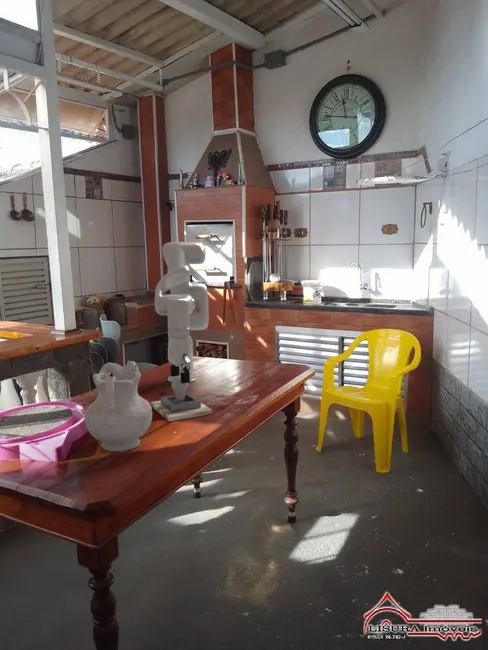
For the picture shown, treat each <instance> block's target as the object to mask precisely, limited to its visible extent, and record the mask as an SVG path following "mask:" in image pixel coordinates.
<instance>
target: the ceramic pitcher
mask: <svg viewBox="0 0 488 650" xmlns="http://www.w3.org/2000/svg"><path fill="white" fill-rule="evenodd" d="M126 362H127V363H126V364H125V365H124V366H122V365H120V364H118V363H113V362H107V363H105V364H104V365H102V366H101V368H100V370H99V372H98V373H93V374H92V380H93V383H94V385H95V386H96V390H97V397H96V399H95V400H94V401H93V402H92V403H91V404H90V405H89V406H88V407H87V409H86V410H85V413H84V422H85V425H86V429H87V430H88V432H89V434H90V435H91V436H92V437H93V438H94V439H95V440H98V441H100V442H101V443H100V444H99V447H100V448H102V449H103V450H105V451H108V452H110V453H111V452H127V451H129V450H132V449H136V448H138V447H140V445H141V440H140V437H142V436H144V435H145V434H146V432H147V431H148V430H149V428H150V426H151V424H152V420H153V407H151V403H150V402H149V401H148V400H147V399H145V398H143V397H142V396H140V394H139V393H138V392H139V391H138V385H139V382H140V379H141V378H142V377H141V376H142V374H141V372H140V371H139V367H138V366H139V364H138V363H136V362H135V361H134V360H130V359H129V360H127V361H126Z"/></svg>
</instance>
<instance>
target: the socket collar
mask: <svg viewBox="0 0 488 650" xmlns="http://www.w3.org/2000/svg"><path fill="white" fill-rule="evenodd" d="M160 401H161V405H163V406H164V407H165V408H166V409H168V410H169V411H170V412H172V413H173V412H179V411H185V410H191V409H196V408H201V403H202V401H201V400H200V399H198V398H197V397H195V396H194V395H192V394H191V393H188V392H186V393H185V398H184V402H183V403H177V399H176V395H168V396H161V397H160ZM185 401H187V402H185ZM174 403H177V404H174Z"/></svg>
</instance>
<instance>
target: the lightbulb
mask: <svg viewBox="0 0 488 650" xmlns="http://www.w3.org/2000/svg"><path fill="white" fill-rule="evenodd" d="M170 384H171V385H170V386H171V389H172V390H173V392H174V394H175V395H176V399H177V403H183V402H184V398H185V394H186V393H187V390H188V388H189V386H190V385H189V383H184V384H182V383H181V376H176V377H175V378H174V379H173V380H172V382H170Z"/></svg>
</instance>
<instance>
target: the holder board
mask: <svg viewBox="0 0 488 650" xmlns="http://www.w3.org/2000/svg"><path fill="white" fill-rule="evenodd" d="M185 402H187V401H185ZM174 404H177V403H174ZM150 405H151V407H152V409H153V410H155V411H156V412H158V413H159V414H160V415H161V416H162V417H163V418H164V419H166V420H167V421H168V422H173V421H174V422H175V421H180V420H185V419H191V418H196V417H203V416H206V415H207V416H208V415H209V416H210V415H212V414H213V409H212V408H211V407H209V406H207V405H206V404H204V403H202V402H201V408H196V409H191V410H185V411H179V412H173V413H172V412H170V411H169V410H168V409H166V408H165V407H164V406H163V405H161V400H158V401H157V400H156V401H151V402H150Z"/></svg>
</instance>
